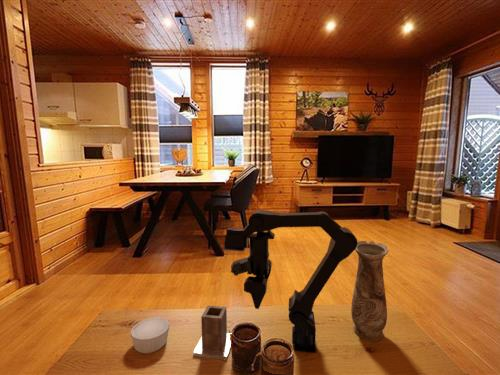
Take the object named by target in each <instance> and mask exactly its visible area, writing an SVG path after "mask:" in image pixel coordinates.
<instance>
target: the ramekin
mask: <svg viewBox="0 0 500 375" xmlns="http://www.w3.org/2000/svg"><path fill="white" fill-rule="evenodd" d="M130 330H131V331H130V337H131V339H132V344H133V347H134V350H135V351H137V352H138V353H140V354H150V353H151V354H152V353H154V352H157V351H158V350H160V349H161V348H163V347H164V346H165V345H166V343H167V341H168V336H169V330H170V323H169V321H168V320H167V319H166V318H164V317H159V316H158V317H157V316H155V317H150V318H149V317H148V318H146V319H143V320H141V321H139V322H138V323H136V324H134V326H133V327H131V329H130Z"/></svg>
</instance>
